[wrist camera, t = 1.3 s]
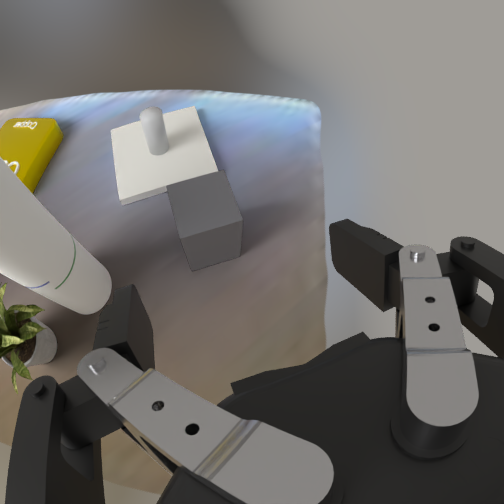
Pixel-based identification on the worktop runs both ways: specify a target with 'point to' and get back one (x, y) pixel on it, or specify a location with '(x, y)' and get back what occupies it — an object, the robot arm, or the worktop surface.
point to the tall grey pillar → (206, 219)
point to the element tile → (29, 147)
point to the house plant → (24, 338)
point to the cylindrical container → (46, 251)
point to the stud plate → (162, 167)
